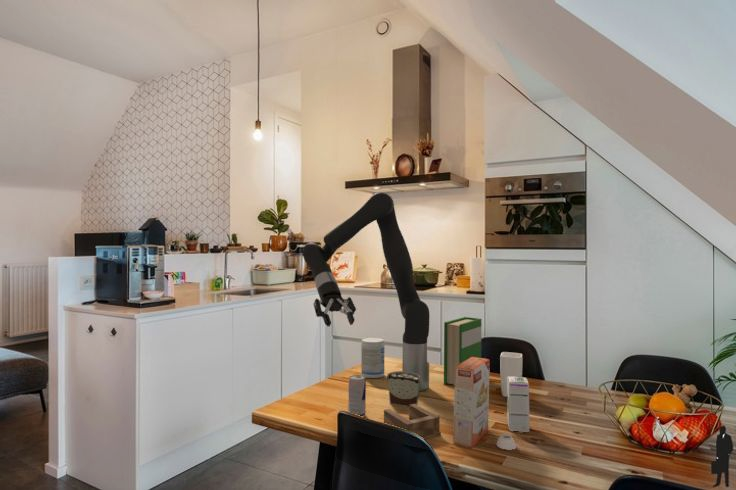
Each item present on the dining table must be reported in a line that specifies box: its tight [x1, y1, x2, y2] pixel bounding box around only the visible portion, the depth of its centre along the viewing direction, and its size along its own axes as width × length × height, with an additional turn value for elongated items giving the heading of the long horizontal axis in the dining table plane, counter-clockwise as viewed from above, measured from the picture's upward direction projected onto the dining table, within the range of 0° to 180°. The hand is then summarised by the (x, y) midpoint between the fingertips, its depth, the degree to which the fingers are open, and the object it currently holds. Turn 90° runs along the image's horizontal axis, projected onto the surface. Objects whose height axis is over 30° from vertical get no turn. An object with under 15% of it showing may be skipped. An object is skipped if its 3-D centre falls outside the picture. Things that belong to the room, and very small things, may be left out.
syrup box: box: [506, 376, 530, 433], centre depth 131 cm, size 6×6×14 cm
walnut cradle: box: [383, 404, 442, 440], centre depth 128 cm, size 12×12×5 cm
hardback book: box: [443, 316, 482, 386], centre depth 176 cm, size 18×7×24 cm, turn 142°
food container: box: [385, 370, 422, 408], centre depth 151 cm, size 12×6×10 cm, turn 65°
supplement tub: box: [360, 337, 385, 379], centre depth 183 cm, size 10×10×15 cm
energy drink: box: [347, 374, 367, 418], centre depth 139 cm, size 5×5×12 cm
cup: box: [499, 351, 523, 398], centre depth 159 cm, size 7×7×15 cm
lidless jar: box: [496, 433, 517, 451], centre depth 119 cm, size 5×3×5 cm
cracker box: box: [452, 357, 491, 448], centre depth 124 cm, size 14×6×21 cm, turn 148°
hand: (341, 324), depth 150 cm, fingers open, 8 cm apart
